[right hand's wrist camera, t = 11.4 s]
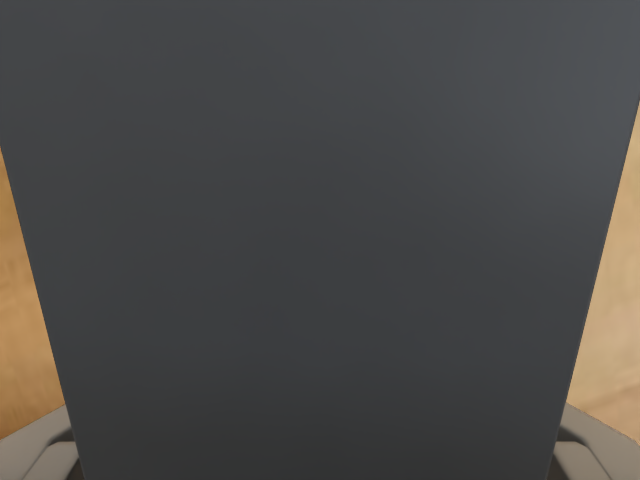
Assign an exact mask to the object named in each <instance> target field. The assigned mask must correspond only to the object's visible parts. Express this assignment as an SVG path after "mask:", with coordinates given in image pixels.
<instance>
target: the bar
mask: <svg viewBox="0 0 640 480" xmlns="http://www.w3.org/2000/svg"><path fill="white" fill-rule="evenodd" d="M639 102H640V0H0V147H1V151H2V155H3V159H4V163H5V167H6V171H7V174H8V178H9V182H10V186H11V190H12V194H13V198H14V202H15V206H16V210H17V214H18V218H19V222H20V226H21V230H22V234H23V238H24V242H25V246H26V250H27V254H28V258H29V262H30V266H31V270H32V273H33V277H34V281H35V285H36V289H37V293H38V297H39V301H40V305H41V309H42V313H43V317H44V321H45V325H46V329H47V333H48V337H49V341H50V345H51V349H52V353H53V357H54V361H55V365H56V368H57V372H58V376H59V380H60V384H61V388H62V392H63V396H64V400H65V404H66V408H67V412H68V416H69V420H70V424H71V428H72V432H73V436H74V440H75V444H76V448H77V452H78V456H79V460H80V464H81V467H82V471H83V475H84V479H85V480H547V476H548V472H549V468H550V464H551V460H552V456H553V452H554V448H555V444H556V440H557V435H558V431H559V427H560V423H561V419H562V415H563V411H564V407H565V403H566V399H567V395H568V391H569V387H570V383H571V378H572V374H573V370H574V366H575V362H576V358H577V354H578V350H579V346H580V342H581V338H582V334H583V330H584V326H585V321H586V317H587V313H588V309H589V305H590V301H591V297H592V293H593V289H594V285H595V281H596V277H597V273H598V269H599V264H600V260H601V256H602V252H603V248H604V244H605V240H606V236H607V232H608V228H609V224H610V220H611V216H612V212H613V207H614V203H615V199H616V195H617V191H618V187H619V183H620V179H621V175H622V171H623V167H624V163H625V159H626V154H627V150H628V146H629V142H630V138H631V134H632V130H633V126H634V122H635V118H636V114H637V110H638V106H639Z"/></svg>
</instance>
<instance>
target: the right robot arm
mask: <svg viewBox="0 0 640 480" xmlns="http://www.w3.org/2000/svg"><path fill="white" fill-rule="evenodd" d="M0 480H85V479H84V475H83V471H82V467H81V464H80V460H79V456H78V452H77V448H76V444H75V440H74V436H73V432H72V428H71V424H70V420H69V416H68V412H67V408H66V404H65V405H63V406H61V407H59V408H58V409H56V410H54V411H52V412H50V413H48V414H47V415H45V416H43V417H41V418H39V419H37V420H36V421H34V422H32V423H30V424H28V425H27V426H25V427H23V428H21V429H19V430H17V431H16V432H14V433H12V434H10V435H8V436H7V437H5V438H3V439H1V440H0ZM547 480H640V446H639V445H638V444H637V443H636V441H635V440H633V439H631V438H629V437H628V436H626V435H624V434H622V433H620V432H619V431H617V430H615V429H613V428H611V427H610V426H608V425H606V424H604V423H602V422H601V421H599V420H597V419H595V418H593V417H592V416H590V415H588V414H586V413H584V412H583V411H581V410H579V409H577V408H575V407H574V406H572V405H570V404H568V403H567V402H566V403H565V407H564V411H563V415H562V419H561V423H560V427H559V431H558V435H557V440H556V444H555V448H554V452H553V456H552V460H551V464H550V468H549V472H548V476H547Z"/></svg>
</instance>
